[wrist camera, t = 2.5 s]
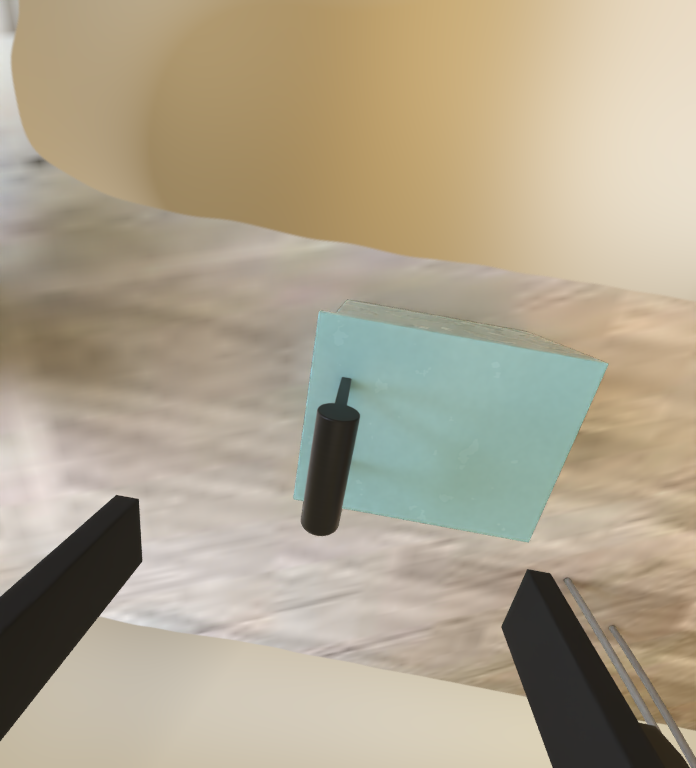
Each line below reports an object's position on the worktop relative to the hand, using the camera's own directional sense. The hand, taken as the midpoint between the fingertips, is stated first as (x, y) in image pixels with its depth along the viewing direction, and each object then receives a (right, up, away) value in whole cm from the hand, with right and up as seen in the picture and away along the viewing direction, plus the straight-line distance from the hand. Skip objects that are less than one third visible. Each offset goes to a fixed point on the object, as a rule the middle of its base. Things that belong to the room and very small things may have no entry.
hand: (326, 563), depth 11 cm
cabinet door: (+7, +2, +13) cm, 15 cm away
